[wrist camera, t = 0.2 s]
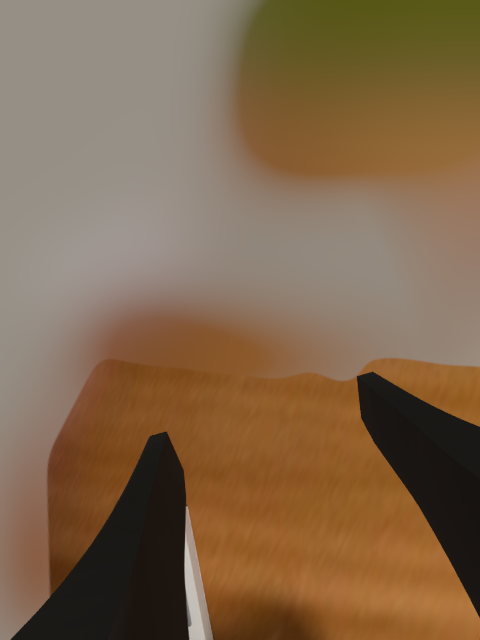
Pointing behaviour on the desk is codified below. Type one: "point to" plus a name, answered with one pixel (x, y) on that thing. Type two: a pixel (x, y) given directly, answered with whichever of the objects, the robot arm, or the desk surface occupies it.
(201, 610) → the rocker switch panel
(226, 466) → the desk surface
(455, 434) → the robot arm
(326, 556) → the desk surface
